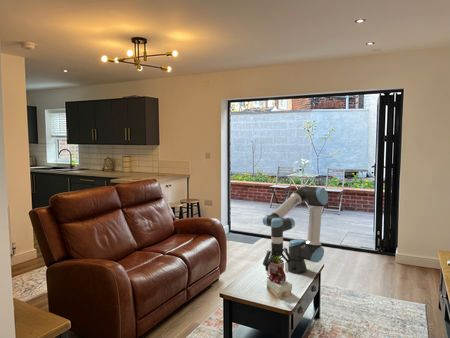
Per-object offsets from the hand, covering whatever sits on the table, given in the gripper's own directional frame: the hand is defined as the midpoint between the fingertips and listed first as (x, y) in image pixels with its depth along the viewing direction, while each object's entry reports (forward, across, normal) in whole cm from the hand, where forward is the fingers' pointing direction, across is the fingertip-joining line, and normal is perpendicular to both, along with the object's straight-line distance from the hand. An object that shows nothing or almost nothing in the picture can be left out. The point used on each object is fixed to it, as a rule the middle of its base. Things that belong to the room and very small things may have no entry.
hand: (277, 273), depth 228 cm
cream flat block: (+9, -1, 0) cm, 9 cm away
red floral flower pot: (+5, 0, 0) cm, 5 cm away
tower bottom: (+13, -1, 0) cm, 13 cm away
